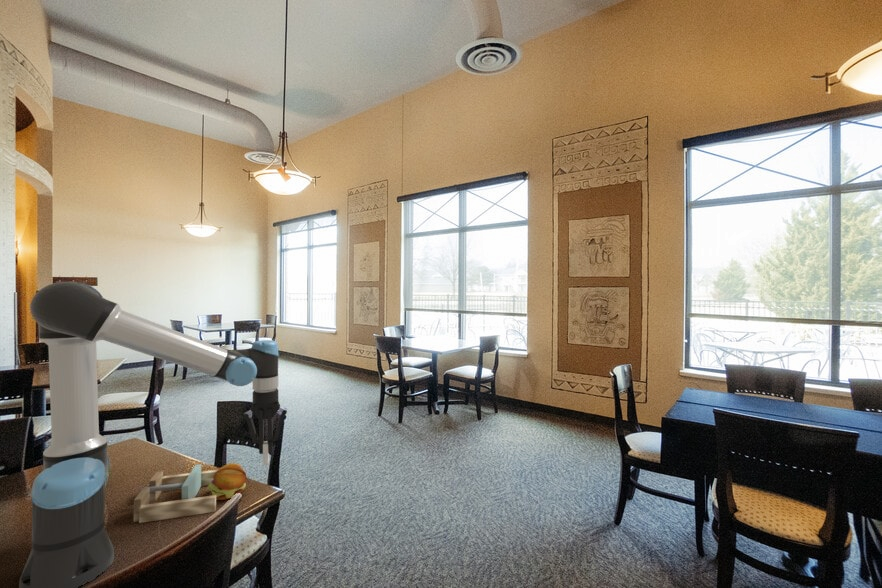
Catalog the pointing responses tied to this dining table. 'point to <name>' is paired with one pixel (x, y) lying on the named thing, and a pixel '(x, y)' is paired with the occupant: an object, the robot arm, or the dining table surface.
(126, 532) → the dining table surface
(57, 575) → the robot arm
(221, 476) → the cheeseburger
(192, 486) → the pusher
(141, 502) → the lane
